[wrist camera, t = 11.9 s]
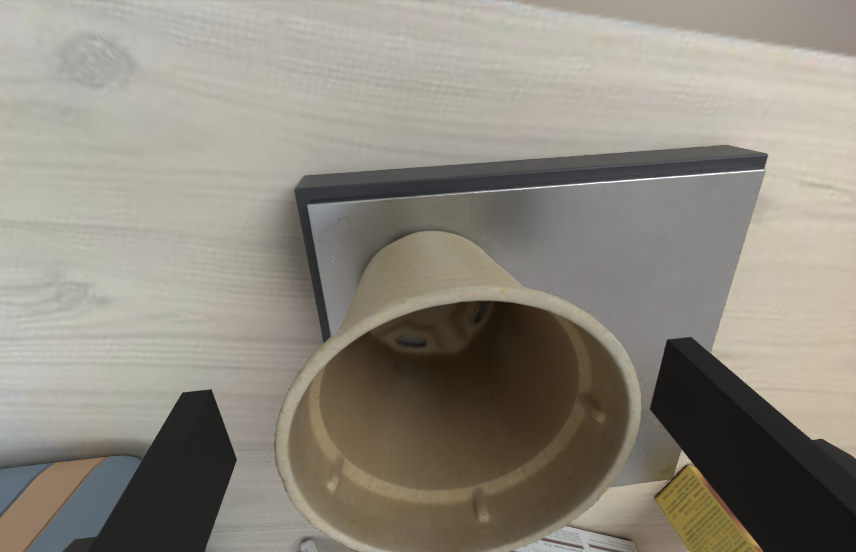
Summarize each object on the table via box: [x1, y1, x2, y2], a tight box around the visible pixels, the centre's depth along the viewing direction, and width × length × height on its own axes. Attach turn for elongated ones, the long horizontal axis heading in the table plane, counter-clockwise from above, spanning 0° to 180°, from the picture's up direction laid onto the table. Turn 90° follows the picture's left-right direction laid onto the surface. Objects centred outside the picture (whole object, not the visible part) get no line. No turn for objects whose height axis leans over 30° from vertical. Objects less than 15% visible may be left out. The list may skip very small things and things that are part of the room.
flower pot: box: [274, 231, 641, 552], centre depth 15 cm, size 9×9×9 cm
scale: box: [295, 145, 768, 487], centre depth 22 cm, size 20×20×3 cm
